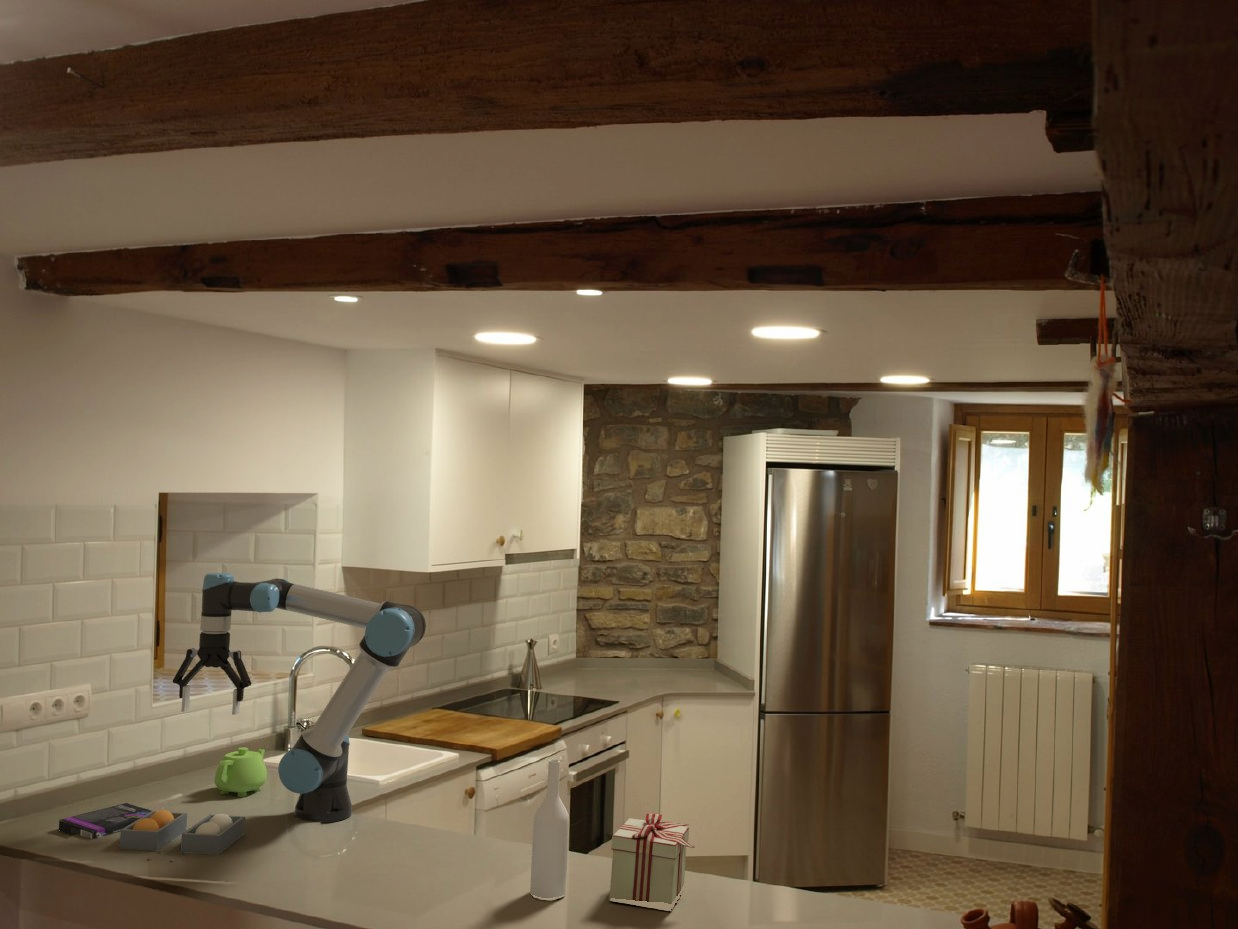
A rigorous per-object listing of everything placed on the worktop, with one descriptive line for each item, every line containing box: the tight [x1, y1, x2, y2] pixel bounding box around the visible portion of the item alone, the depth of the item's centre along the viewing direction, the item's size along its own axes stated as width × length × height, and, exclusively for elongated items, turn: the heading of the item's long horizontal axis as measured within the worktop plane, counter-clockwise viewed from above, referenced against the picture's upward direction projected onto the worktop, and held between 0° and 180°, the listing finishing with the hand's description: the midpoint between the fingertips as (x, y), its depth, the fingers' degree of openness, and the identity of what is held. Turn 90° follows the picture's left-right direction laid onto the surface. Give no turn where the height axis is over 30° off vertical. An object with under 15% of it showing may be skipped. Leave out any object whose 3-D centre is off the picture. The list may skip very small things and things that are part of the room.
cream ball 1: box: [195, 822, 221, 835], centre depth 254 cm, size 6×6×6 cm
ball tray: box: [119, 810, 246, 863], centre depth 255 cm, size 26×22×5 cm
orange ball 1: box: [133, 818, 159, 831], centre depth 255 cm, size 6×6×6 cm
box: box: [58, 802, 152, 840], centre depth 268 cm, size 14×4×20 cm
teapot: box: [214, 746, 268, 798], centre depth 304 cm, size 20×13×13 cm
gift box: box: [609, 813, 696, 904], centre depth 238 cm, size 17×18×17 cm
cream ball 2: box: [209, 813, 233, 832], centre depth 261 cm, size 6×6×6 cm
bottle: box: [529, 759, 570, 898], centre depth 237 cm, size 8×8×30 cm
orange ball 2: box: [150, 809, 174, 829], centre depth 262 cm, size 6×6×6 cm
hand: (210, 712), depth 276 cm, fingers open, 13 cm apart
